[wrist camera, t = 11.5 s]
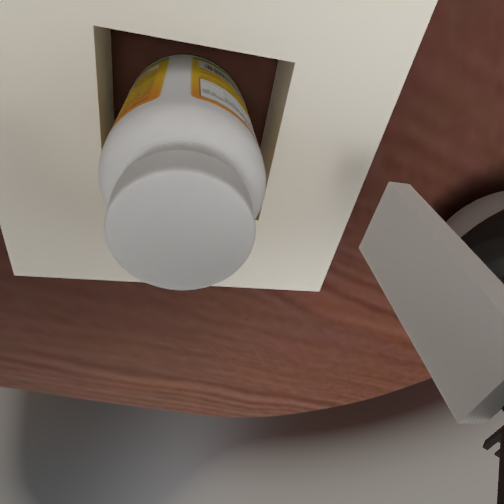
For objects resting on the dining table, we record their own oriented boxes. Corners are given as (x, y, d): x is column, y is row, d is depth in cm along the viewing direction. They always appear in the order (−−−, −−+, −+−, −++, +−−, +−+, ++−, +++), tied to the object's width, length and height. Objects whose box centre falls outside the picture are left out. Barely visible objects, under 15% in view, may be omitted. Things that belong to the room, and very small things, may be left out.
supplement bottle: (140, 171, 19) (101, 315, 11) (116, 52, 15) (39, 144, 8) (245, 167, 19) (276, 302, 12) (245, 51, 16) (289, 136, 8)
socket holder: (34, 239, 20) (14, 275, 18) (-59, -195, 11) (-129, -236, 9) (307, 258, 24) (319, 291, 21) (420, -63, 14) (464, -66, 12)
